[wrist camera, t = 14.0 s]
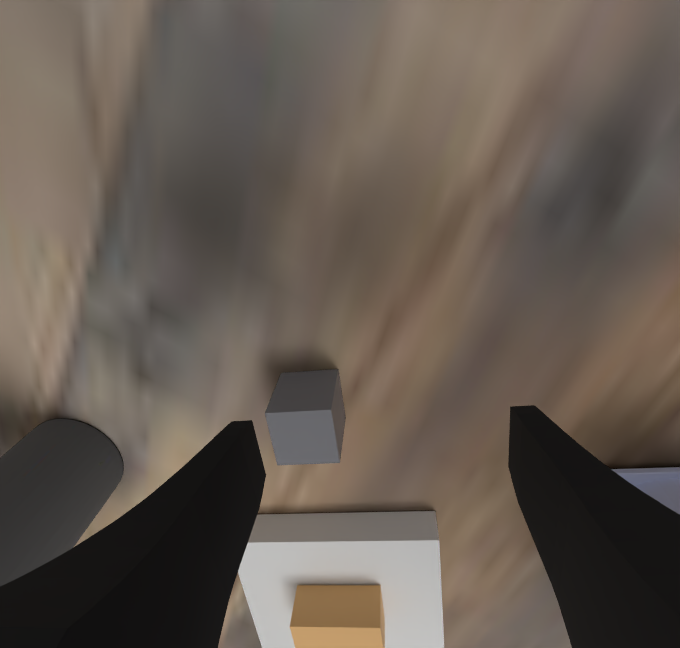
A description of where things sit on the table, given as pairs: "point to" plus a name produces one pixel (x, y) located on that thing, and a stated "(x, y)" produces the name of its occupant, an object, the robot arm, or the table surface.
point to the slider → (338, 617)
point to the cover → (307, 417)
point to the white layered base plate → (347, 570)
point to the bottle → (52, 492)
